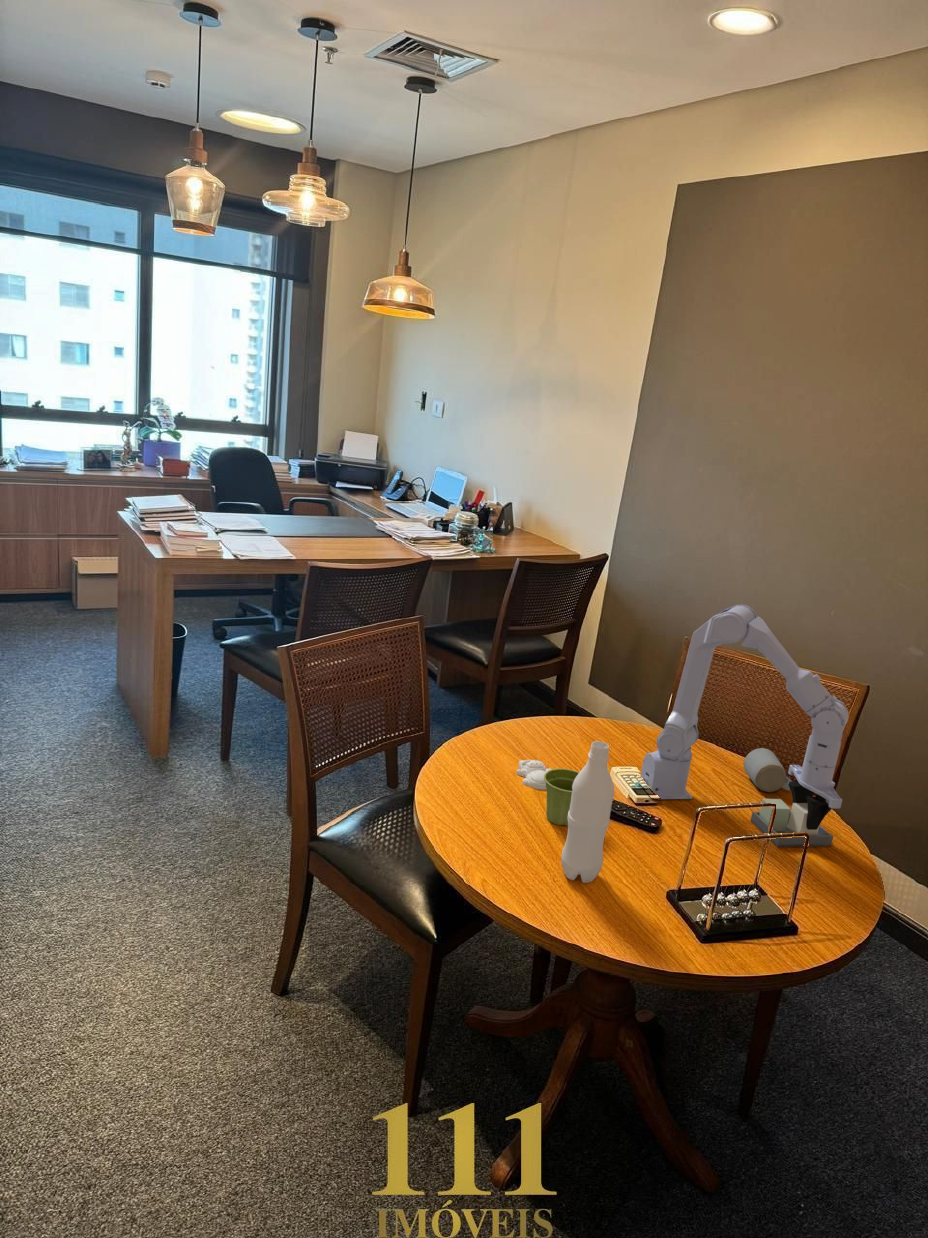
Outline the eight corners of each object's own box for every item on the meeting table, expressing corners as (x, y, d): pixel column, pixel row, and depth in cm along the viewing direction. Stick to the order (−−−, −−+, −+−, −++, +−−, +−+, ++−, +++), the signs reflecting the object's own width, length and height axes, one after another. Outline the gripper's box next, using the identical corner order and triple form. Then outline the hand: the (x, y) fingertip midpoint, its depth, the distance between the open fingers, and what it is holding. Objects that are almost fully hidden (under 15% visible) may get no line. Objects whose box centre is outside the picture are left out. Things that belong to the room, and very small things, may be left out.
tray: (777, 847, 162) (779, 837, 161) (750, 821, 171) (752, 811, 171) (830, 846, 164) (833, 836, 164) (801, 820, 174) (803, 810, 173)
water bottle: (590, 892, 141) (612, 758, 134) (552, 876, 144) (572, 745, 137) (606, 873, 147) (628, 744, 140) (569, 858, 150) (589, 732, 143)
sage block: (767, 830, 167) (772, 808, 165) (757, 820, 171) (762, 798, 169) (785, 831, 167) (790, 809, 166) (775, 820, 171) (780, 799, 170)
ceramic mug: (752, 793, 184) (760, 761, 182) (740, 776, 192) (747, 745, 190) (799, 797, 185) (807, 766, 182) (784, 780, 192) (791, 750, 190)
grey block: (799, 835, 164) (804, 813, 162) (787, 825, 167) (792, 803, 166) (816, 835, 165) (822, 813, 163) (805, 825, 168) (810, 802, 167)
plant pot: (594, 821, 164) (601, 782, 162) (566, 836, 158) (573, 796, 155) (557, 802, 170) (562, 764, 168) (528, 816, 164) (534, 777, 161)
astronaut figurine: (549, 766, 187) (551, 754, 186) (561, 792, 176) (563, 779, 175) (511, 764, 186) (513, 752, 185) (520, 790, 175) (522, 777, 174)
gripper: (862, 778, 156) (845, 842, 160) (815, 745, 169) (801, 804, 173) (829, 778, 154) (813, 842, 158) (785, 745, 168) (771, 805, 172)
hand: (805, 823), depth 166 cm, fingers closed on grey block, 4 cm apart
